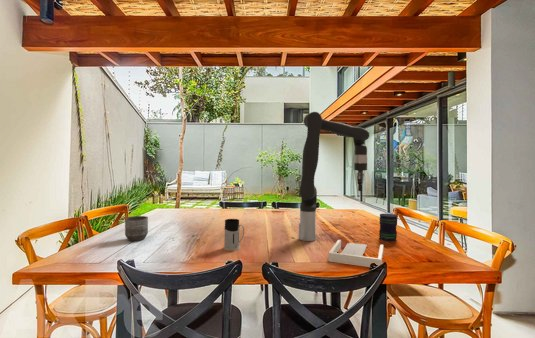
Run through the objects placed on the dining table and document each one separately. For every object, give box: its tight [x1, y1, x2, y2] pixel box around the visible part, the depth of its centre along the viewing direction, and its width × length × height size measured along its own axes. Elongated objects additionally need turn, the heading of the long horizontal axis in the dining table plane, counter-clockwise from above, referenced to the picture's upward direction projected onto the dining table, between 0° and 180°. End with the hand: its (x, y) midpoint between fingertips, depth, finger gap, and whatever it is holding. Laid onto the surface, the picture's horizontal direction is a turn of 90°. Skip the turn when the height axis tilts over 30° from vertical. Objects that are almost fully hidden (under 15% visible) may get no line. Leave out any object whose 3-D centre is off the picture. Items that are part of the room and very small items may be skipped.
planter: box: [124, 215, 149, 242], centre depth 172 cm, size 12×12×13 cm
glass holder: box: [223, 218, 245, 252], centre depth 155 cm, size 9×14×15 cm, turn 45°
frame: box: [327, 239, 384, 268], centre depth 145 cm, size 23×26×4 cm
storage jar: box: [378, 213, 398, 243], centre depth 178 cm, size 10×10×15 cm
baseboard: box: [341, 240, 368, 256], centre depth 152 cm, size 31×3×12 cm
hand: (360, 191), depth 179 cm, fingers closed
